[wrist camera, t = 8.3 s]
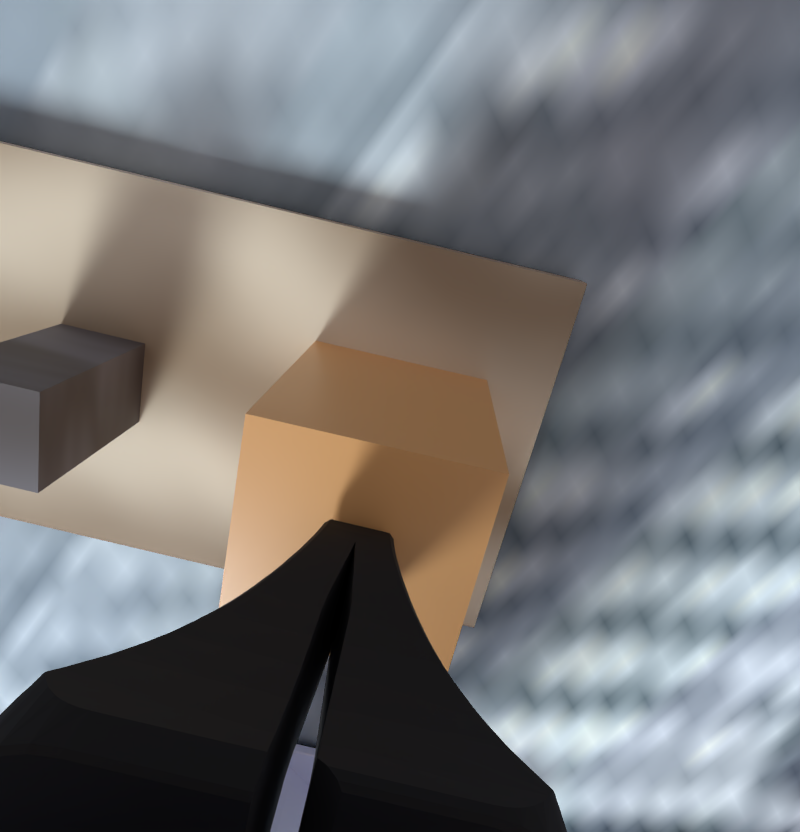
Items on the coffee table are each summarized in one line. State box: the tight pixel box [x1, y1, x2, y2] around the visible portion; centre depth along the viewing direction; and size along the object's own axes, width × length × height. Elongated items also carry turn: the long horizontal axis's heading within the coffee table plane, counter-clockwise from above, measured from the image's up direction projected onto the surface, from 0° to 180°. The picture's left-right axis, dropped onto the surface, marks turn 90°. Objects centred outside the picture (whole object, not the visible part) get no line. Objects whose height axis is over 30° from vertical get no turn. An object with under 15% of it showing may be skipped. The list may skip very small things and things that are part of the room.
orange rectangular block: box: [219, 341, 509, 672], centre depth 15 cm, size 5×5×7 cm
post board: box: [0, 141, 587, 628], centre depth 17 cm, size 12×18×6 cm, turn 78°
